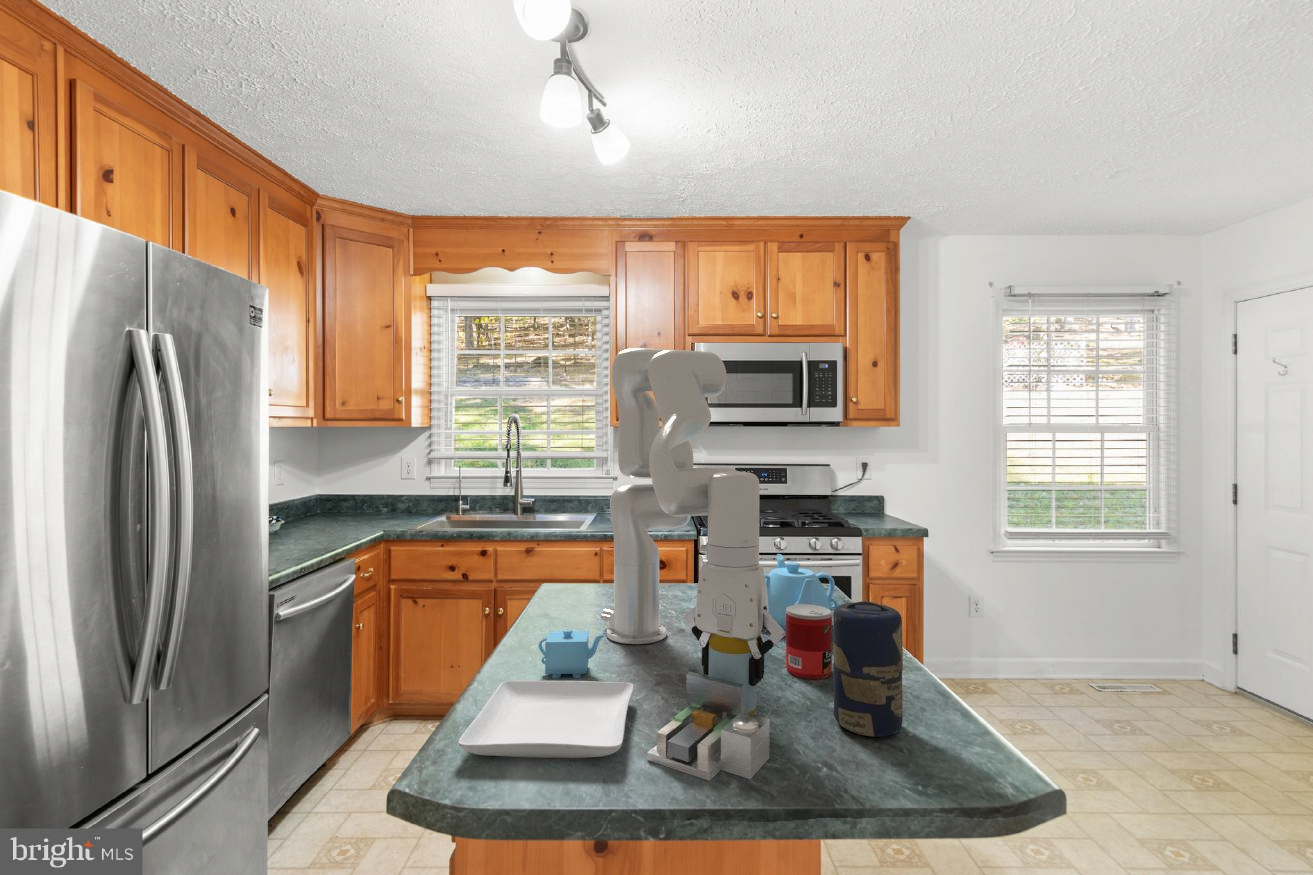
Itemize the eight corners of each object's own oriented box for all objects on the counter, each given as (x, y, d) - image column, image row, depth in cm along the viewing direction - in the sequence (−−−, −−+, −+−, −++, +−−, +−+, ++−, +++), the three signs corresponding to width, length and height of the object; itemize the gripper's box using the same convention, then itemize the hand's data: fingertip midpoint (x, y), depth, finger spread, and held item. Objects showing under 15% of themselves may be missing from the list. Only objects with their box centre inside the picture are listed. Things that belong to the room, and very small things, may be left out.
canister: (895, 749, 83) (895, 614, 83) (824, 731, 88) (824, 604, 88) (908, 721, 91) (908, 598, 91) (843, 706, 96) (843, 590, 96)
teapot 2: (778, 610, 149) (778, 552, 149) (853, 628, 135) (853, 564, 135) (736, 624, 138) (736, 561, 138) (812, 645, 124) (812, 575, 124)
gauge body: (647, 760, 80) (647, 718, 80) (688, 727, 89) (688, 690, 89) (740, 791, 73) (740, 745, 73) (774, 752, 82) (774, 712, 82)
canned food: (833, 681, 106) (833, 617, 106) (785, 677, 107) (785, 614, 107) (830, 665, 113) (830, 605, 113) (785, 662, 115) (785, 602, 115)
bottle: (761, 707, 93) (762, 607, 93) (748, 727, 86) (749, 619, 86) (717, 698, 96) (718, 601, 96) (701, 716, 89) (702, 613, 89)
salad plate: (501, 699, 99) (501, 677, 99) (634, 701, 98) (634, 679, 98) (453, 770, 78) (454, 742, 78) (622, 773, 77) (622, 746, 77)
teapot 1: (607, 665, 113) (607, 624, 113) (606, 678, 107) (606, 634, 107) (540, 666, 112) (540, 625, 112) (536, 680, 106) (536, 636, 106)
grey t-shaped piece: (649, 749, 79) (649, 698, 79) (690, 717, 89) (690, 671, 89) (707, 768, 75) (708, 713, 75) (744, 733, 84) (744, 684, 84)
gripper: (669, 553, 92) (668, 673, 93) (779, 567, 83) (778, 700, 83) (693, 546, 99) (693, 657, 99) (799, 558, 89) (798, 681, 90)
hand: (732, 676), depth 91 cm, fingers closed on bottle, 6 cm apart
